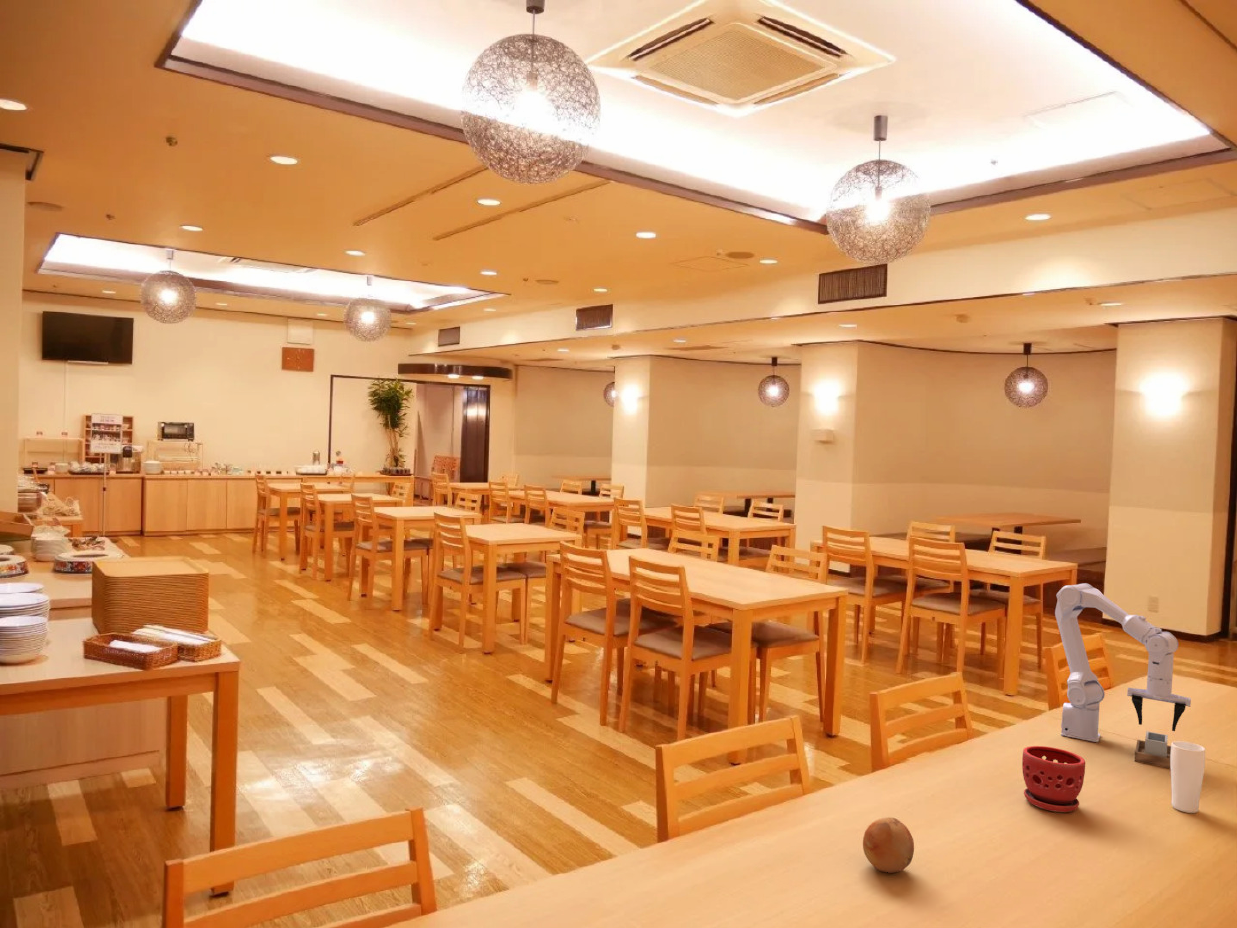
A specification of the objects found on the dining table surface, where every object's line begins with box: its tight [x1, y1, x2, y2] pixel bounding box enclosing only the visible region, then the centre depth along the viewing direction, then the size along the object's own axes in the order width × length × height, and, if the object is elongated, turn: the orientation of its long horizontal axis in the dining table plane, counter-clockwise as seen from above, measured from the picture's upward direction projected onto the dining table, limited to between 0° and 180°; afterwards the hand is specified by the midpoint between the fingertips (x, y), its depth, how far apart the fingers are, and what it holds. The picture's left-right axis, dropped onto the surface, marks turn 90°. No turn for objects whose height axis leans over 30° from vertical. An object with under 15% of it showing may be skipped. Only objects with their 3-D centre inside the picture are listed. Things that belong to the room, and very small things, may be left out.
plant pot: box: [1021, 745, 1086, 813], centre depth 201 cm, size 13×13×12 cm
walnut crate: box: [1134, 739, 1171, 770], centre depth 233 cm, size 9×12×2 cm
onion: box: [862, 816, 915, 874], centre depth 168 cm, size 10×10×10 cm
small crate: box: [1144, 730, 1169, 758], centre depth 233 cm, size 5×8×6 cm, turn 147°
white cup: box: [1169, 740, 1206, 814], centre depth 201 cm, size 7×7×15 cm
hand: (1156, 726), depth 233 cm, fingers open, 7 cm apart
